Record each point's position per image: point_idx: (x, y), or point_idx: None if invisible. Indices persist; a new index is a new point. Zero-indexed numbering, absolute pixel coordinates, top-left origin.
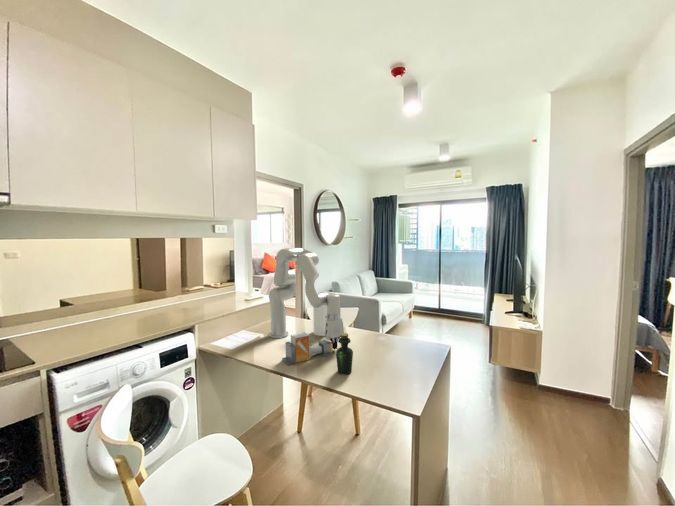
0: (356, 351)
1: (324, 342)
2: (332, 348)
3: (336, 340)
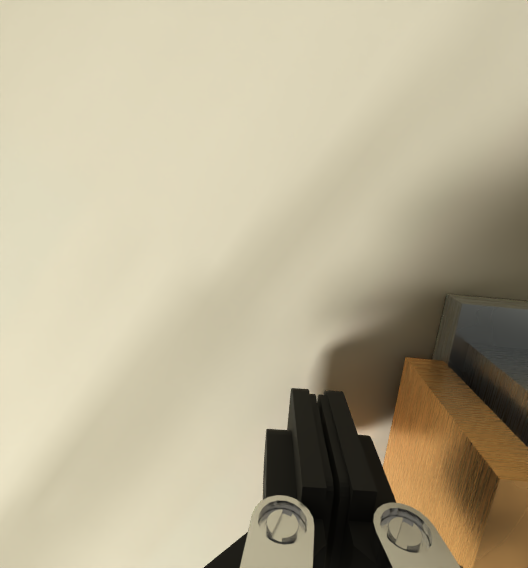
0: (10, 155)
1: None
2: (430, 390)
3: (313, 535)
